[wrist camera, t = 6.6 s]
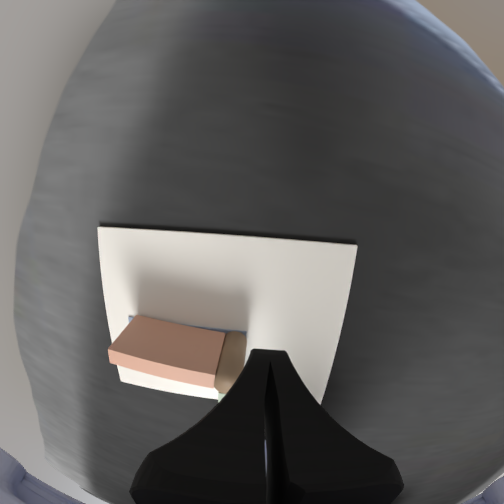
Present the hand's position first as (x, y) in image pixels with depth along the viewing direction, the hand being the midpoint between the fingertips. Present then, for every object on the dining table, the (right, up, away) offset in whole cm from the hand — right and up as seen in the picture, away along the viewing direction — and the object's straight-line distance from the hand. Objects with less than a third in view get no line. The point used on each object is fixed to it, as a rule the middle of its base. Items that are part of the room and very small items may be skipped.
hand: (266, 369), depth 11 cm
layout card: (-3, -1, +11) cm, 11 cm away
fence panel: (-5, -2, +10) cm, 12 cm away
